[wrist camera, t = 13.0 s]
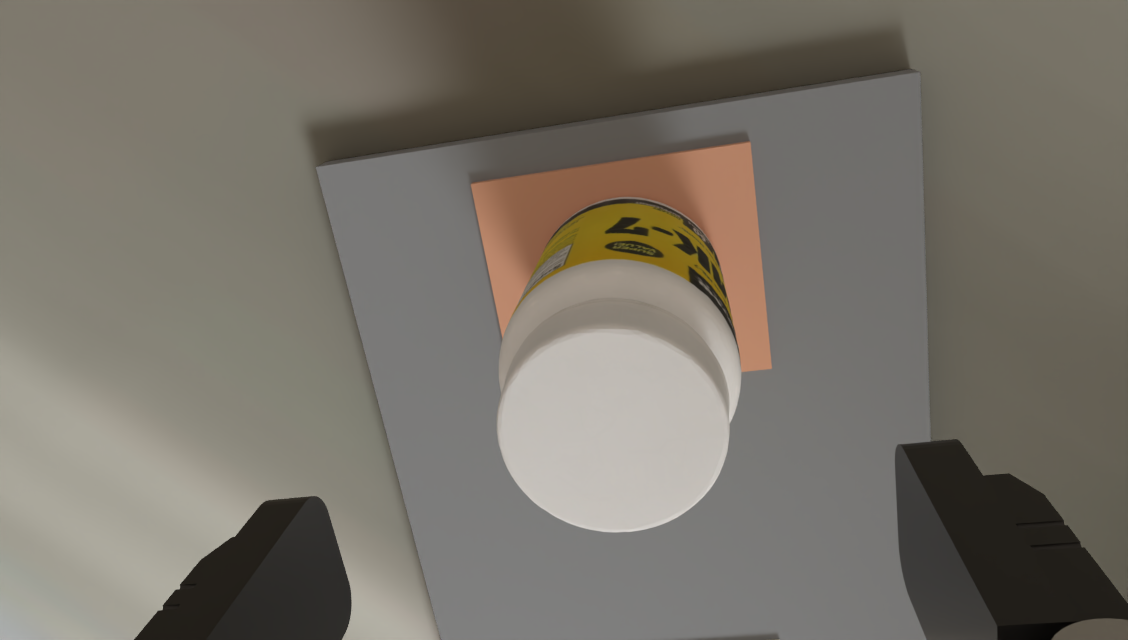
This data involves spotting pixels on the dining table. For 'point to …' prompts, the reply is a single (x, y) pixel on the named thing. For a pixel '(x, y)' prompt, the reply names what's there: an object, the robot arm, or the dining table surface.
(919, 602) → the robot arm
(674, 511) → the supplement bottle
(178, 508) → the dining table surface
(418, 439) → the grey rectangular board
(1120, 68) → the dining table surface
